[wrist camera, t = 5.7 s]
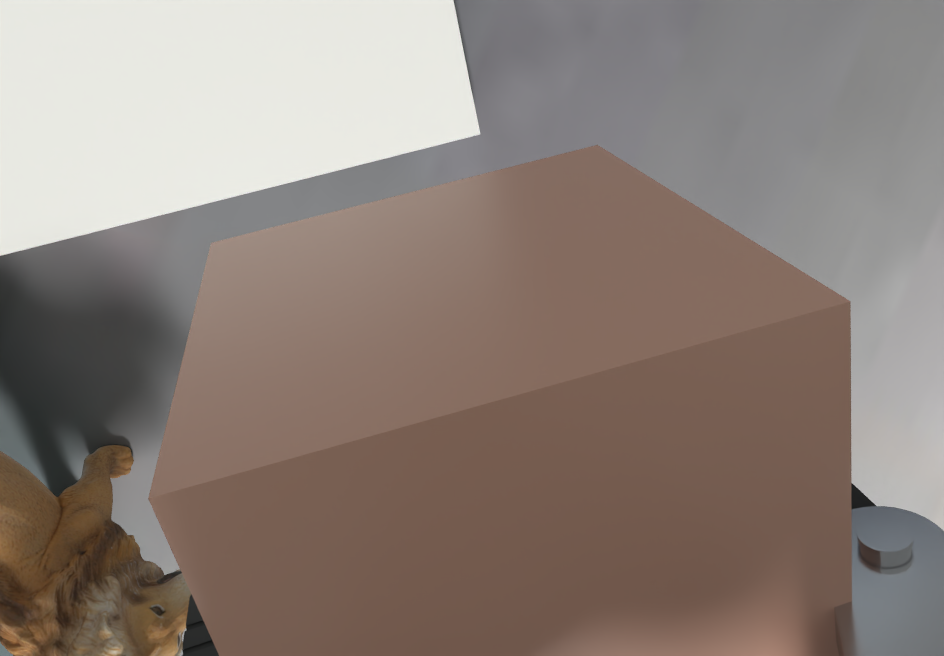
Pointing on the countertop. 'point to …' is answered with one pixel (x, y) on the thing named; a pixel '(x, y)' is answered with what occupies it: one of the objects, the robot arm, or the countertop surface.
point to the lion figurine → (81, 570)
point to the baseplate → (210, 101)
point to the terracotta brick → (512, 429)
